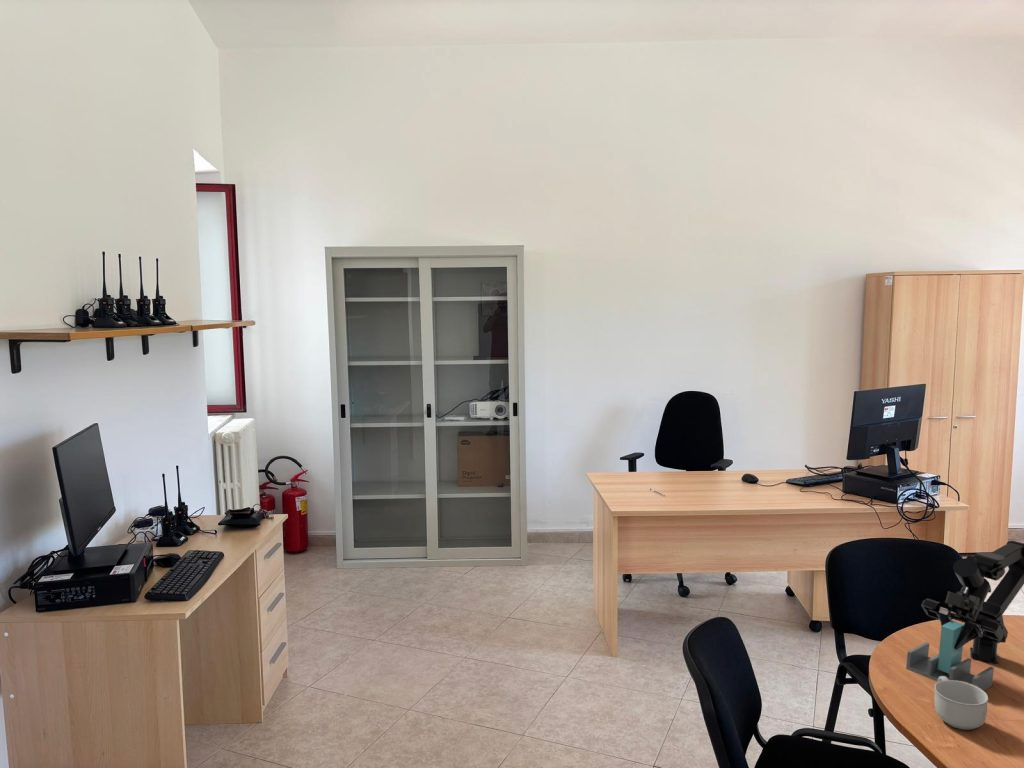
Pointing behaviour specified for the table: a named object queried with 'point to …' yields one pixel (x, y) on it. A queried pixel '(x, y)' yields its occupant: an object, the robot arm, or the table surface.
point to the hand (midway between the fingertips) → (948, 646)
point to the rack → (959, 672)
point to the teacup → (960, 703)
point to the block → (949, 646)
